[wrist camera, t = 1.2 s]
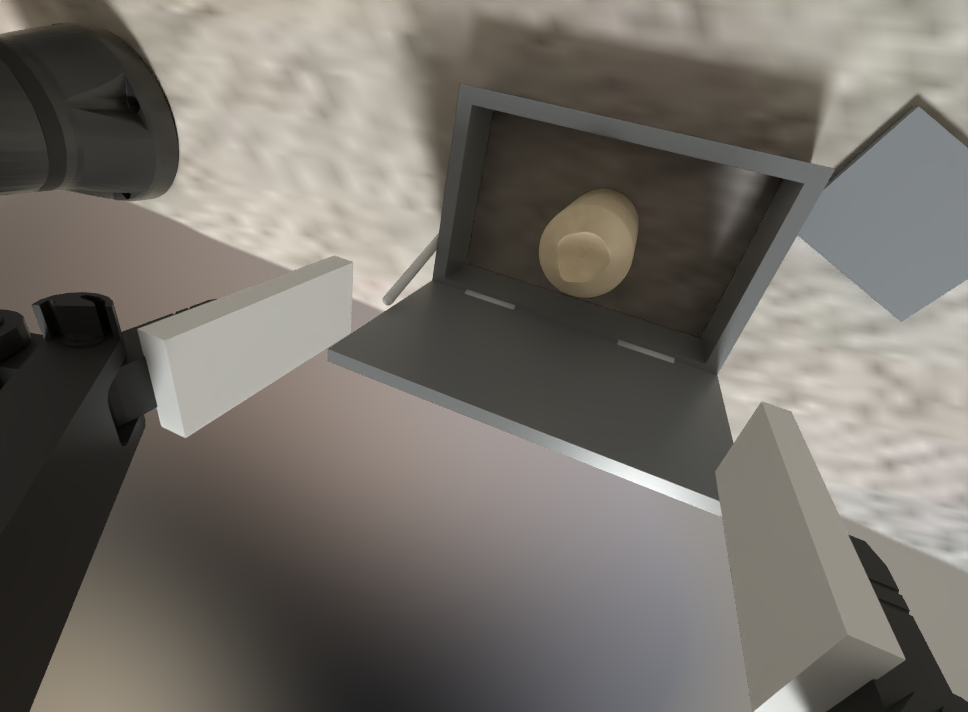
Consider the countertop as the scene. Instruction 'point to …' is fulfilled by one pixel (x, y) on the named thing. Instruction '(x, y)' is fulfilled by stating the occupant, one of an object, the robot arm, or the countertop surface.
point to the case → (576, 326)
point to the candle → (590, 244)
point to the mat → (898, 216)
